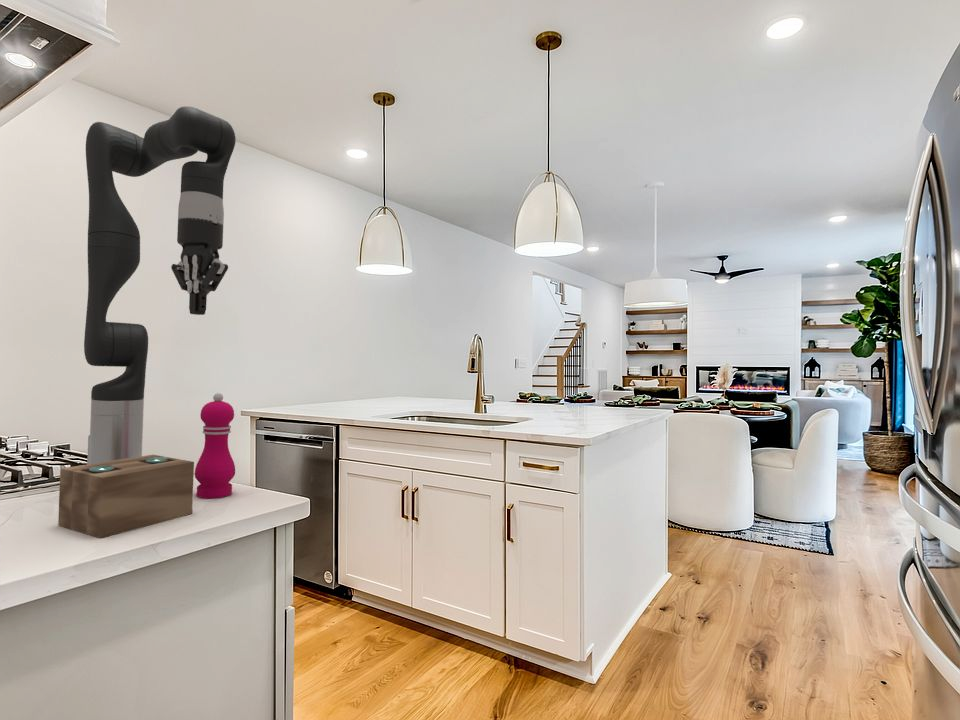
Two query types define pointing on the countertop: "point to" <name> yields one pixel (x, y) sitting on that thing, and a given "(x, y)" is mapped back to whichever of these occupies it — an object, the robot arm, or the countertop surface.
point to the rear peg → (156, 460)
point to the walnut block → (124, 495)
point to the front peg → (101, 469)
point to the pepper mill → (215, 450)
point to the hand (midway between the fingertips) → (197, 314)
